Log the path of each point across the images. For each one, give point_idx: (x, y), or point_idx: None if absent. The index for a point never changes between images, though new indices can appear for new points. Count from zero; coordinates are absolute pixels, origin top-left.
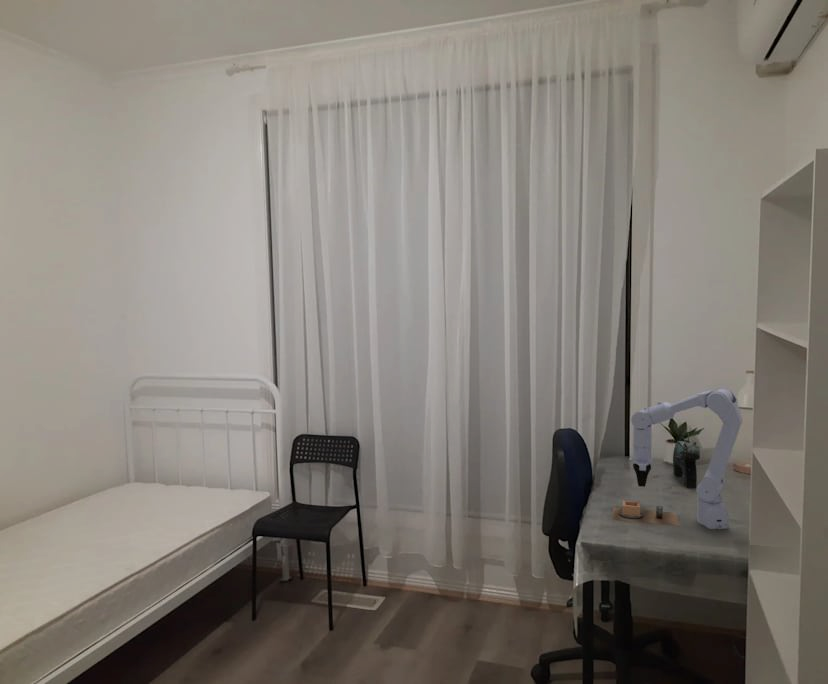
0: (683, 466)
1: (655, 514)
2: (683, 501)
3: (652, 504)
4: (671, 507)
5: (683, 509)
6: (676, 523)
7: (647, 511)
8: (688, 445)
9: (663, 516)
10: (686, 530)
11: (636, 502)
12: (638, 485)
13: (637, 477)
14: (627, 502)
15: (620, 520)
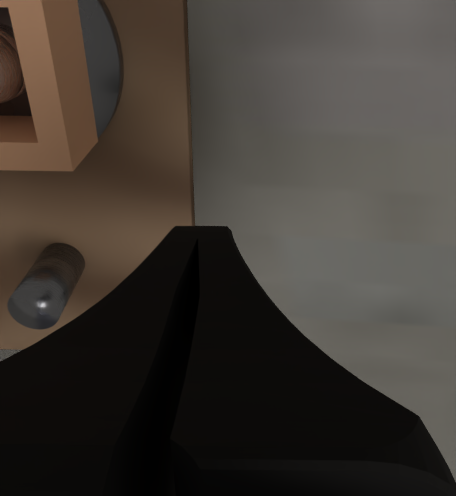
0: None
1: (117, 242)
2: None
3: (433, 224)
4: (377, 321)
5: (348, 369)
6: (3, 337)
7: (164, 194)
8: None
9: (97, 284)
10: (9, 354)
11: (38, 137)
12: (170, 230)
13: (110, 297)
14: (19, 33)
15: None
